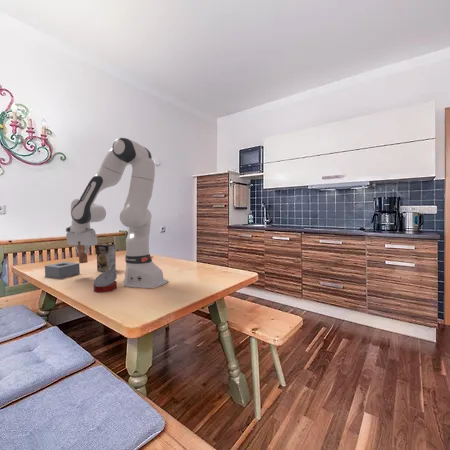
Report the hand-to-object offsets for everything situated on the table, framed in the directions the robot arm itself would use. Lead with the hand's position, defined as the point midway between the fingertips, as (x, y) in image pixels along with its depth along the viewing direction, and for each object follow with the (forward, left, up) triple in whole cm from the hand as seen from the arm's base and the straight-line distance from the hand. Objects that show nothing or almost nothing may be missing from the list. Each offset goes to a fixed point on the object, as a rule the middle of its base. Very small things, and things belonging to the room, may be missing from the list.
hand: (82, 253), depth 140 cm
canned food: (-30, +12, -14) cm, 35 cm away
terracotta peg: (0, 0, -5) cm, 5 cm away
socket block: (+15, +2, -13) cm, 20 cm away
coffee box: (+1, -16, -13) cm, 21 cm away
